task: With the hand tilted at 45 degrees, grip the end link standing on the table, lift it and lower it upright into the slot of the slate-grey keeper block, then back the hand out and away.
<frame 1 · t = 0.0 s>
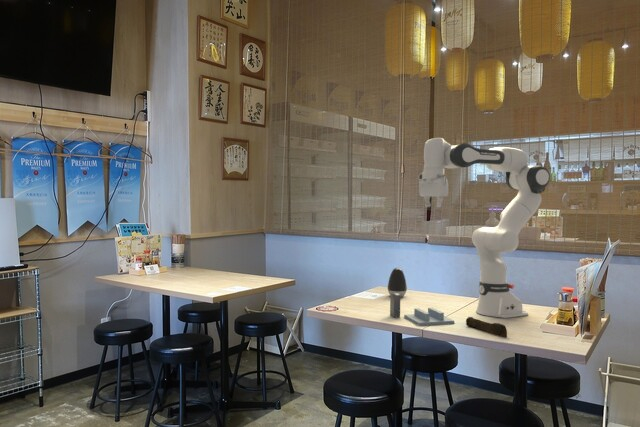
hand: (433, 207, 207), 48 cm above the table, tool pointing down, fingers open, 8 cm apart
dark brown bar: (487, 332, 186), on the table
end link: (395, 316, 208), on the table
black egg shape: (396, 296, 253), on the table
keeper: (428, 320, 201), on the table
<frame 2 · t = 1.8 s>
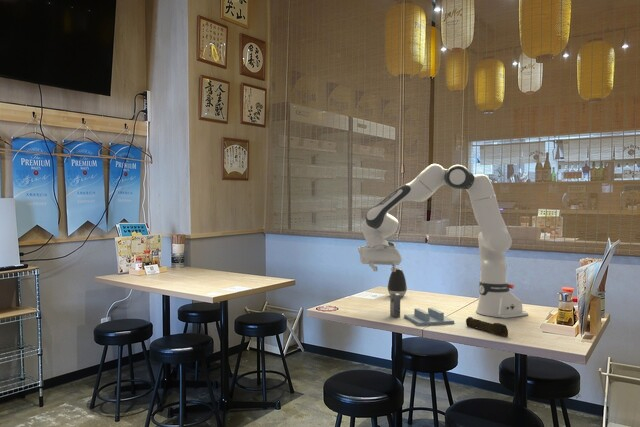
hand: (384, 270, 218), 18 cm above the table, tool tilted 45°, fingers open, 8 cm apart
nothing on the table moved.
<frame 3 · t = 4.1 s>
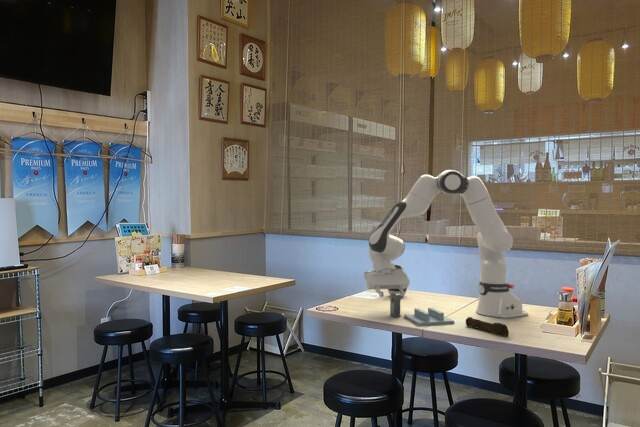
hand: (391, 295, 212), 8 cm above the table, tool tilted 45°, fingers open, 8 cm apart
nothing on the table moved.
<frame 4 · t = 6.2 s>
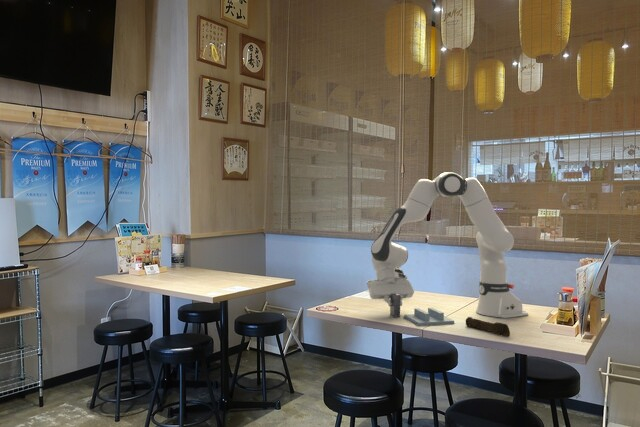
hand: (395, 305, 208), 5 cm above the table, tool tilted 45°, fingers closed on end link, 3 cm apart
end link: (395, 316, 208), on the table, touching gripper
everything else where it was.
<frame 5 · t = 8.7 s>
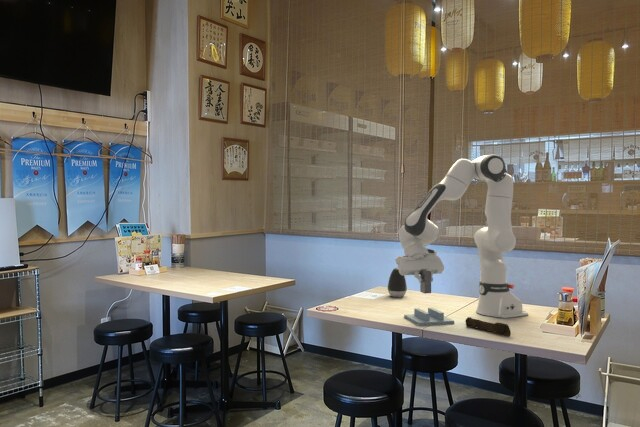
hand: (426, 281, 202), 17 cm above the table, tool tilted 45°, fingers closed on end link, 3 cm apart
end link: (425, 292, 202), point 12 cm above the table, touching gripper
when the fingers open (9 cm above the table, at t = 11.3 s): end link drops 2 cm, resting on keeper.
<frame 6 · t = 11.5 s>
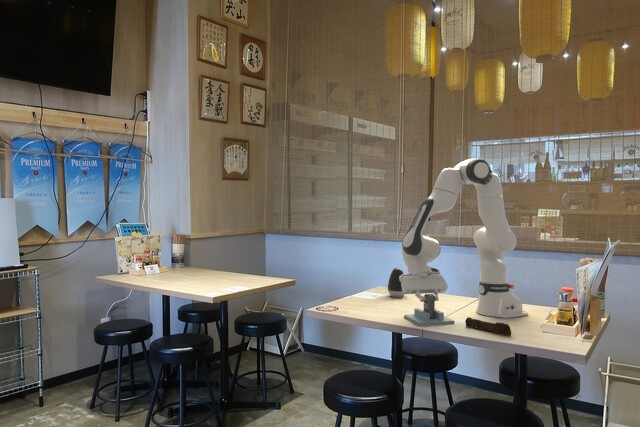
hand: (429, 300, 201), 9 cm above the table, tool tilted 45°, fingers open, 5 cm apart
end link: (428, 317, 201), point 1 cm above the table, touching keeper
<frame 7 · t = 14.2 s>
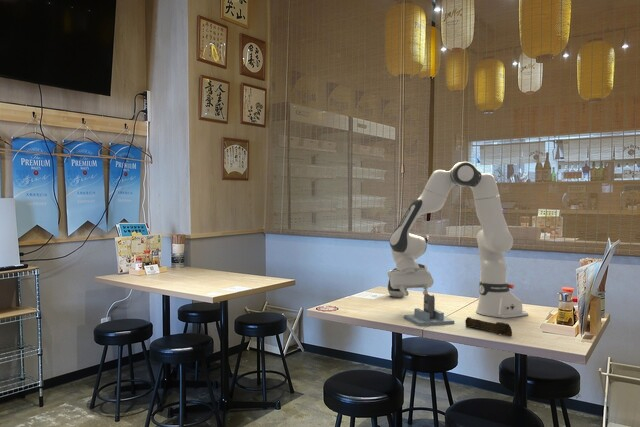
hand: (416, 294, 212), 9 cm above the table, tool tilted 45°, fingers open, 8 cm apart
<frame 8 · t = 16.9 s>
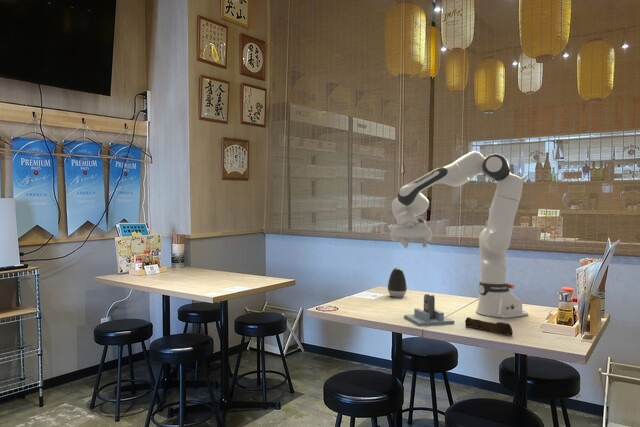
hand: (415, 246, 220), 29 cm above the table, tool tilted 45°, fingers open, 8 cm apart
at the end: end link 0.0 cm off-centre on the keeper, point 1.2 cm above the keeper's base; end link tilted 0°; the gripper is holding nothing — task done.
